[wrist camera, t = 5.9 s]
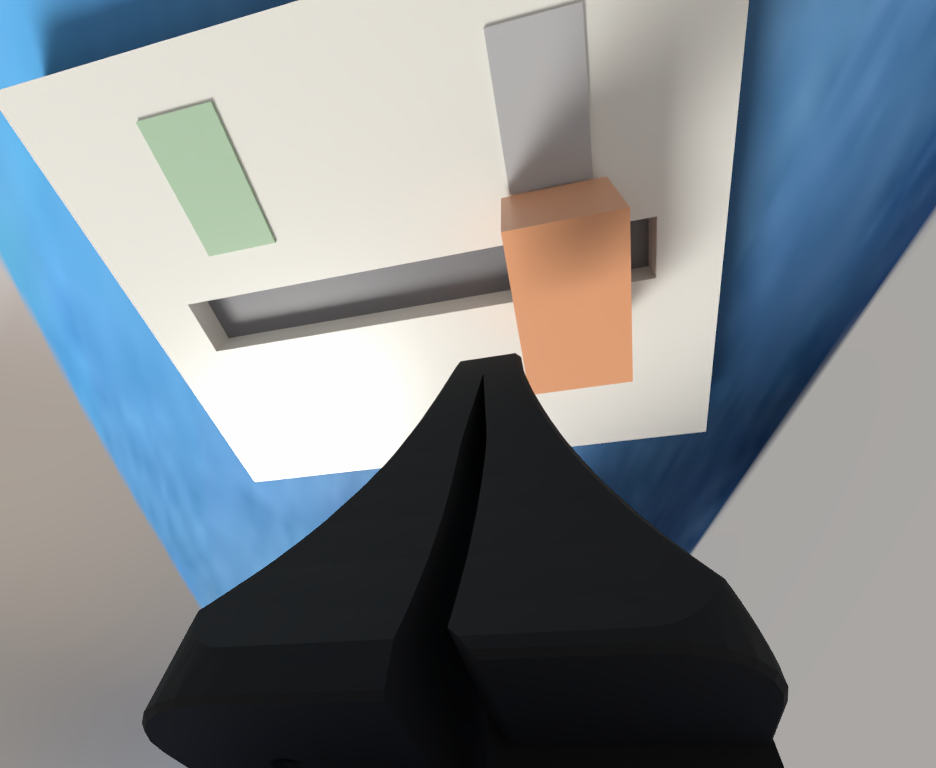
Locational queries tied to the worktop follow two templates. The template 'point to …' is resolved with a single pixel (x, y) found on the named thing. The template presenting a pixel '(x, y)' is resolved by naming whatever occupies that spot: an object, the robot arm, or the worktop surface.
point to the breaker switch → (571, 284)
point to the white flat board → (396, 202)
